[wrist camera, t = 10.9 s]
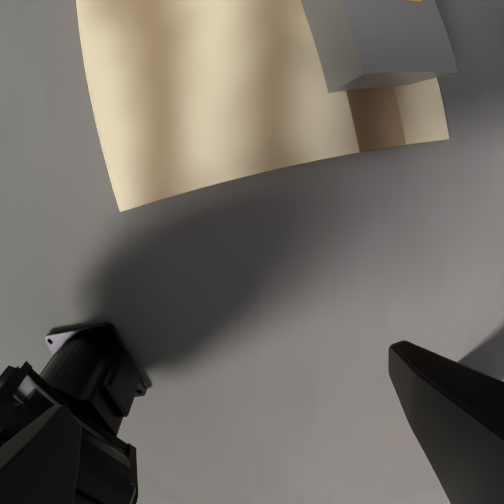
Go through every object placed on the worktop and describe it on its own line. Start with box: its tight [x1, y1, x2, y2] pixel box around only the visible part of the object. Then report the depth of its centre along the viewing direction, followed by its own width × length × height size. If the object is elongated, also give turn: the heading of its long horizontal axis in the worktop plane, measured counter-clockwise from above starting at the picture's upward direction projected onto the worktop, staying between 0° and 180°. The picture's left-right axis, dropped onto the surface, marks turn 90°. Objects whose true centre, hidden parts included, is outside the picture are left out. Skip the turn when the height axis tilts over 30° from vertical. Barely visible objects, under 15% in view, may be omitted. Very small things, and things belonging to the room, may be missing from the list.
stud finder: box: [301, 0, 458, 93], centre depth 11 cm, size 5×9×5 cm, turn 14°
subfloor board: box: [76, 0, 449, 212], centre depth 14 cm, size 20×16×1 cm
